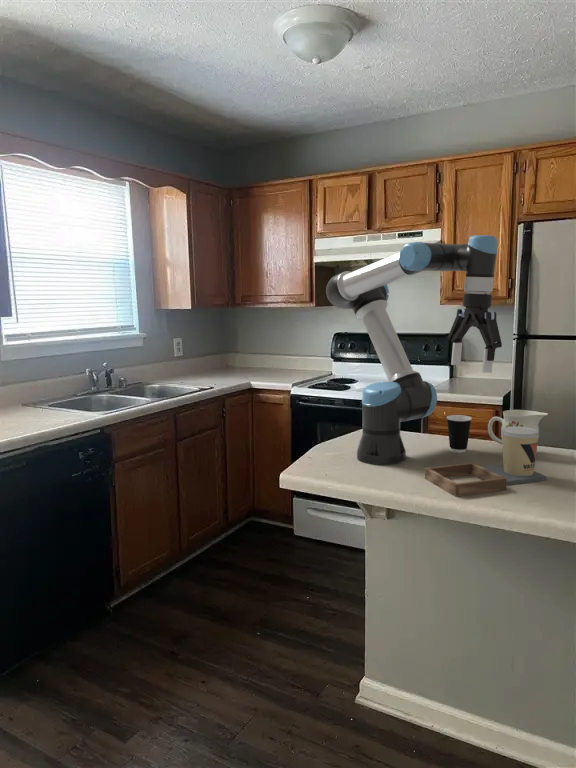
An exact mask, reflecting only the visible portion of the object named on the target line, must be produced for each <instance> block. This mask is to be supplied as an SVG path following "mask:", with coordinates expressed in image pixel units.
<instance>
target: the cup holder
mask: <svg viewBox="0 0 576 768" xmlns="http://www.w3.org/2000/svg"><path fill="white" fill-rule="evenodd" d="M483 467H484V466H481V465H478V464H476V463H474V462H468V463H458V464H457V463H456V464H450V465H442V466H441V465H440V466H432V467H425V468H424V479H425V480H427V481H428V482H430V483H431V484H433V485H434V486H436V487H438V488H440V489H442V490H443V491H445V492H447V493H449V494H450V495H452V496H454V497H455V498H456V497H462V496H463V497H465V496H470V495H477V494H484V493H485V492H486V493H492V492H499V491H506V490H507V485H506V483H507V479H506V478H504V477H502V476H500V475H498V474H496V473H493V472H491V471H489V470H487V469H485V468H483ZM460 475H461V476H466V475H467V476H469V475H471V476H474V477H476V478H477V479H478V480H475V481H464V482H459V483H458V482H455V481H453V480H451V479H449V478H452V477H451V476H453V477H459V476H460ZM479 479H480V480H479ZM481 479H482V480H481ZM486 493H485V494H486Z"/></svg>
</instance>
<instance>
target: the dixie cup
mask: <svg viewBox="0 0 576 768" xmlns="http://www.w3.org/2000/svg"><path fill="white" fill-rule="evenodd" d="M445 418H446V420H447V428H448V430H447V432H448V440H449V448H450V451H451V452H452V453H458V454H459V453H466V452H467V449H468V443H469V437H470V431H471V430H470V429H471V422H472V420H473V418H472V416H469V415H461V414H453V415H447V416H446V417H445Z"/></svg>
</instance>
